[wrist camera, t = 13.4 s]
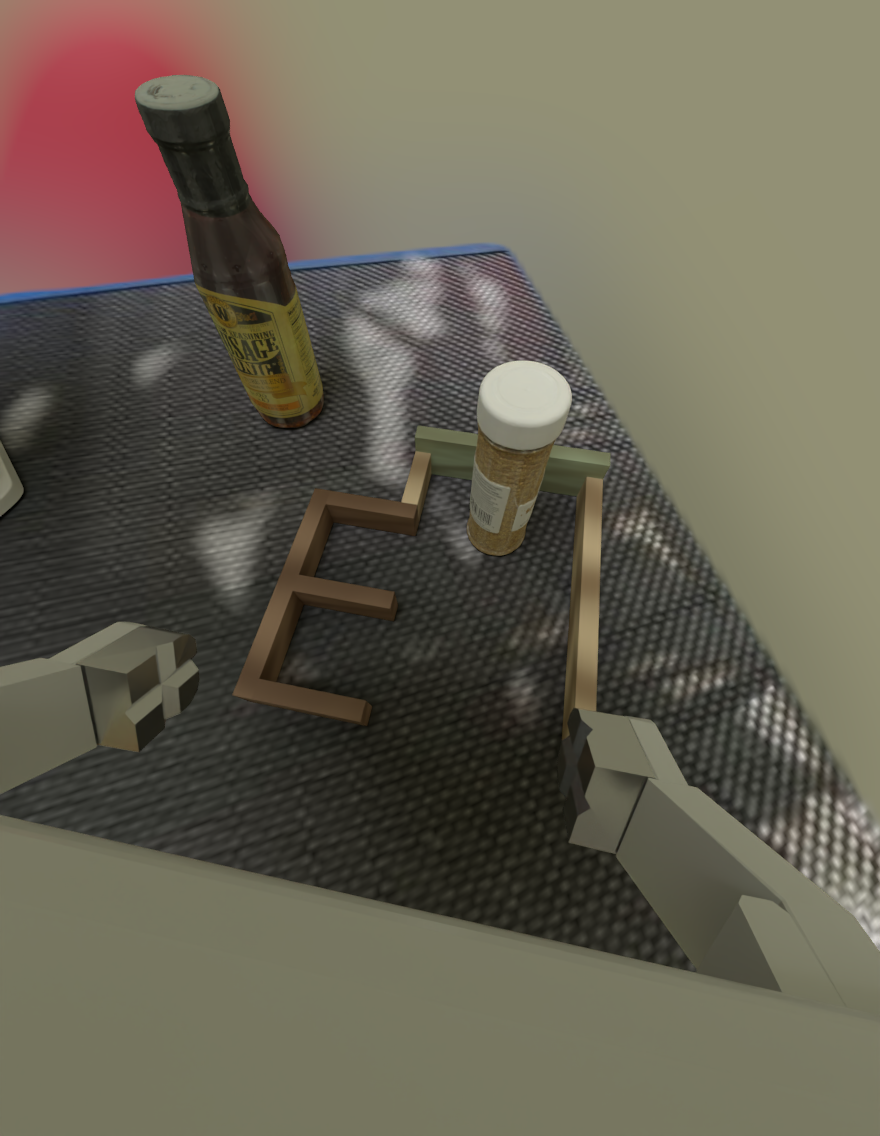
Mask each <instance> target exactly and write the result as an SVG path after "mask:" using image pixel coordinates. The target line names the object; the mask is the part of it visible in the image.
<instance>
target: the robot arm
mask: <svg viewBox="0 0 880 1136" xmlns="http://www.w3.org/2000/svg"><path fill="white" fill-rule="evenodd" d="M22 494H23V486H22V484H21V482H20V480H19V478H18V475H17V473H16V471H15V469H14V467H13V465H12V463H11V461H10V459H9V457H8V455H7V453H6V451H5V449H4V447H3V445H2V443H1V441H0V516H1V515H3V514H4V513H5V512H6V511H7V510H8V509H10V508H11V507H12V506H13V505H14V504H15V503H16V502H17V501H18V500H19V499H20V497H21V496H22ZM196 654H197V647H196V639H195V638H193V637H192V636H191V635H190V634H185V633H181V632H176V631H171V630H167V629H162V628H157V627H152V626H146V625H142V624H137V623H132V622H117V623H115V624H113V625H111V626H109V627H107V628H105V629H103V630H102V631H100V632H98V633H96V634H94V635H92V636H90V637H88V638H87V639H85V640H83V641H81V642H79V643H77V644H75V645H74V646H72V647H70V648H68V649H66V650H64V651H62V652H60V653H59V654H57V655H55V656H53V657H51V658H49V659H44V658H38V659H33V660H29V661H25V662H20V663H16V664H12V665H7V666H3V667H0V794H2V793H4V792H6V791H8V790H10V789H12V788H14V787H16V786H18V785H20V784H22V783H24V782H26V781H28V780H30V779H32V778H34V777H36V776H38V775H41V774H43V773H45V772H47V771H49V770H51V769H53V768H55V767H57V766H59V765H61V764H63V763H65V762H67V761H69V760H71V759H73V758H75V757H77V756H79V755H82V754H84V753H86V752H88V751H90V750H92V749H94V748H96V747H97V745H102V746H107V747H113V748H118V749H124V750H130V751H135V752H140V751H141V750H142V749H143V748H144V747H145V746H146V745H147V744H148V743H149V742H151V741H152V740H153V739H154V738H155V737H156V736H157V735H158V734H159V733H160V732H161V731H162V730H163V729H164V728H165V722H166V719H167V718H170V717H172V716H175V715H177V714H180V713H181V712H182V711H183V710H184V709H185V708H186V707H187V706H188V705H189V704H190V703H191V701H192V700H193V698H194V696H195V694H196V692H197V690H198V685H199V670H198V668H197V667H196V666H195V664H194V663H193V661H192V658H193V657H194V656H195V655H196ZM567 725H568V729H569V734H570V735H569V736H568V737H566V738H565V739H563V740H562V742H561V746H560V749H559V753H558V762H557V779H558V786H559V790H560V791H561V792H562V794H563V795H564V796H565V797H566V801H565V804H564V807H563V814H564V820H565V825H566V831H567V836H568V842H569V843H572V844H576V845H581V846H585V847H589V848H593V849H597V850H601V851H606V852H610V853H614V854H616V858H617V859H618V860H619V862H620V863H621V864H622V866H623V867H624V869H625V870H626V871H627V873H628V874H629V876H630V877H631V878H632V880H633V881H634V883H635V884H636V885H637V887H638V888H639V890H640V891H641V892H642V894H643V895H644V897H645V898H646V899H647V901H648V902H649V904H650V905H651V906H652V908H653V909H654V911H655V912H656V913H657V915H658V916H659V918H660V919H661V920H662V922H663V923H664V925H665V926H666V927H667V929H668V930H669V932H670V933H671V934H672V936H673V937H674V939H675V940H676V941H677V943H678V944H679V946H680V947H681V948H682V950H683V951H684V952H685V954H686V955H687V957H688V958H689V959H690V961H691V962H692V964H693V965H694V966H695V968H696V969H697V971H696V972H695V973H694V972H690V971H686V970H681V969H677V968H672V967H668V966H664V965H659V964H655V963H650V962H646V961H642V960H637V959H633V958H628V957H624V956H620V955H615V954H611V953H606V952H602V951H598V950H593V949H589V948H584V947H580V946H576V945H571V944H567V943H562V942H558V941H554V940H549V939H545V938H540V937H536V936H532V935H527V934H523V933H518V932H514V931H510V930H505V929H501V928H496V927H492V926H487V925H483V924H479V923H474V922H470V921H465V920H461V919H456V918H452V917H448V916H443V915H439V914H434V913H430V912H425V911H421V910H417V909H412V908H408V907H403V906H399V905H394V904H390V903H386V902H381V901H377V900H372V899H368V898H363V897H359V896H355V895H350V894H346V893H341V892H337V891H332V890H328V889H324V888H319V887H315V886H310V885H306V884H302V883H297V882H293V881H288V880H284V879H280V878H275V877H271V876H266V875H262V874H258V873H253V872H249V871H244V870H240V869H236V868H231V867H227V866H223V865H218V864H214V863H209V862H205V861H201V860H196V859H192V858H187V857H183V856H179V855H174V854H170V853H165V852H161V851H157V850H152V849H148V848H143V847H139V846H135V845H130V844H126V843H121V842H117V841H113V840H108V839H104V838H99V837H95V836H90V835H86V834H82V833H77V832H73V831H68V830H64V829H60V828H55V827H51V826H46V825H42V824H38V823H33V822H29V821H24V820H20V819H16V818H11V817H7V816H2V815H0V1136H880V952H879V950H878V949H877V947H876V946H875V945H874V943H873V942H872V940H871V939H870V938H869V936H868V935H867V934H866V932H865V931H864V929H863V928H862V927H861V925H860V924H859V922H858V921H857V920H856V918H855V917H854V916H853V915H852V914H851V913H849V912H848V911H847V910H846V909H844V908H843V907H842V906H841V905H840V904H838V903H837V902H836V901H835V900H833V899H832V898H831V897H830V896H829V895H827V894H826V893H825V892H824V891H822V890H821V889H820V888H819V887H818V886H816V885H815V884H814V883H813V882H812V881H810V880H809V879H808V878H807V877H805V876H804V875H803V874H802V873H801V872H799V871H798V870H797V869H796V868H794V867H793V866H792V865H791V864H790V863H788V862H787V861H786V860H785V859H783V858H782V857H781V856H780V855H779V854H777V853H776V852H775V851H774V850H772V849H771V848H770V847H769V846H768V845H766V844H765V843H764V842H763V841H762V840H760V839H759V838H758V837H757V836H755V835H754V834H753V833H752V832H751V831H749V830H748V829H747V828H746V827H744V826H743V825H742V824H741V823H740V822H738V821H737V820H736V819H735V818H733V817H732V816H731V815H730V814H729V813H727V812H726V811H725V810H724V809H722V808H721V807H720V806H719V805H718V804H716V803H715V802H714V801H713V800H712V799H710V798H709V797H708V796H707V795H705V794H704V793H703V792H702V791H701V790H699V789H698V788H697V787H692V786H688V784H687V782H686V780H685V779H684V777H683V775H682V773H681V771H680V769H679V767H678V766H677V764H676V762H675V760H674V758H673V756H672V754H671V753H670V751H669V749H668V747H667V745H666V743H665V741H664V740H663V738H662V736H661V734H660V732H659V730H658V728H657V727H656V725H655V723H653V722H652V721H651V720H648V719H642V718H636V717H629V716H619V715H613V714H608V713H602V712H597V711H591V710H585V709H580V708H573V710H572V711H571V713H570V716H569V719H568V722H567Z"/></svg>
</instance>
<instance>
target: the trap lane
mask: <svg viewBox="0 0 880 1136" xmlns="http://www.w3.org/2000/svg"><path fill="white" fill-rule="evenodd" d="M477 440H478V434H473V433H466V432H459V431H452V430H445V429H438V428H432V427H425V426H418V428H417V431H416V435H415V447H416V452H415V456H414V459H413V463H412V466H411V470H410V473H409V477H408V480H407V484H406V488H405V491H404V495H403V498H402V502H397V501H391V500H385V499H379V498H372V497H366V496H360V495H354V494H348V493H341V492H335V491H329V490H323V489H316V488H315V490H314V492H313V495H312V497H311V500H310V502H309V505H308V507H307V510H306V512H305V515H304V517H303V520H302V522H301V525H300V527H299V530H298V532H297V535H296V537H295V540H294V542H293V545H292V547H291V550H290V552H289V555H288V557H287V560H286V562H285V565H284V567H283V570H282V572H281V575H280V577H279V580H278V582H277V585H276V587H275V590H274V592H273V595H272V597H271V600H270V602H269V605H268V607H267V610H266V612H265V615H264V617H263V620H262V622H261V625H260V627H259V630H258V632H257V635H256V637H255V640H254V642H253V645H252V647H251V650H250V652H249V655H248V657H247V660H246V662H245V665H244V667H243V670H242V672H241V675H240V677H239V680H238V682H237V685H236V687H235V690H234V692H233V696H236V697H239V698H242V699H244V700H247V701H250V702H255V703H260V704H264V705H269V706H274V707H279V708H283V709H288V710H293V711H298V712H302V713H307V714H312V715H317V716H321V717H326V718H331V719H336V720H340V721H345V722H350V723H355V724H359V725H364V726H367V725H368V721H369V718H370V714H371V710H372V706H371V705H370V704H369V703H368V702H367V701H365V700H361V699H356V698H351V697H346V696H341V695H336V694H331V693H326V692H322V691H317V690H312V689H307V688H302V687H297V686H292V685H287V684H283V683H278V682H276V680H277V678H278V675H279V672H280V669H281V667H282V664H283V661H284V658H285V655H286V653H287V650H288V647H289V644H290V642H291V639H292V636H293V633H294V631H295V628H296V625H297V622H298V619H299V617H300V614H301V611H302V608H303V606H304V605H309V606H315V607H320V608H325V609H331V610H336V611H342V612H347V613H352V614H358V615H363V616H368V617H374V618H379V619H384V620H390V621H394V619H395V615H396V612H397V608H398V603H397V600H396V596H395V592H392V591H387V590H381V589H376V588H370V587H365V586H359V585H354V584H348V583H343V582H337V581H332V580H326V579H320V578H315V577H314V575H315V572H316V570H317V567H318V564H319V561H320V558H321V556H322V553H323V550H324V547H325V545H326V542H327V539H328V536H329V534H330V531H331V528H332V525H333V522H334V523H340V524H346V525H352V526H358V527H364V528H370V529H376V530H382V531H388V532H394V533H400V534H406V535H412V536H416V533H417V529H418V525H419V521H420V517H421V513H422V509H423V506H424V502H425V498H426V494H427V490H428V486H429V482H430V478H431V474H435V475H441V476H448V477H454V478H461V479H467V480H472V476H473V466H474V456H475V451H476V447H477ZM609 467H610V453H605V452H598V451H591V450H584V449H577V448H570V447H563V446H556V445H553V447H552V450H551V453H550V456H549V459H548V462H547V465H546V468H545V473H544V477H543V480H542V483H541V486H540V489H539V491H545V492H552V493H558V494H565V495H571V496H577V503H576V519H575V535H574V552H573V568H572V584H571V601H570V617H569V633H568V650H567V666H566V682H565V698H564V715H563V731H562V740H563V739H565V738H566V737H568V736H569V735H570V734H569V729H568V725H567V722H568V719H569V716H570V713H571V711H572V710H573V708H580V709H585V710H591V711H596V696H597V661H598V627H599V592H600V557H601V523H602V488H603V478H604V476H605V474H606V472H607V471H608V469H609Z"/></svg>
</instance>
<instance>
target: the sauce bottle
mask: <svg viewBox="0 0 880 1136" xmlns="http://www.w3.org/2000/svg"><path fill="white" fill-rule="evenodd" d="M135 100H136V104H137V107H138V110H139V112H140V114H141V116H142V119H143V121H144V124H145V127H146V130H147V132H148V133H149V134H150V136H151V137H152V138H153V140H154V141H155V142H156V143H157V144H158V146H159V150H160V152H161V154H162V157H163V159H164V162H165V164H166V166H167V168H168V171H169V173H170V176H171V178H172V179H173V182H174V185H175V187H176V189H177V192H178V197H179V199H180V201H181V206H182V213H183V218H184V224H185V229H186V235H187V241H188V246H189V252H190V258H191V264H192V270H193V275H194V281H195V284H196V286H197V288H198V290H199V293H200V295H201V297H202V299H203V301H204V303H205V305H206V308H207V309H208V311H209V313H210V316H211V318H212V320H213V322H214V324H215V326H216V329H217V331H218V333H219V335H220V337H221V339H222V341H223V343H224V345H225V347H226V350H227V351H228V353H229V356H230V358H231V360H232V362H233V364H234V366H235V368H236V370H237V372H238V375H239V377H240V379H241V381H242V383H243V385H244V387H245V389H246V391H247V394H248V396H249V398H250V400H251V402H252V404H253V405H254V406H255V408H256V409H257V411H258V412H259V414H260V415H261V417H263V419H264V420H265V421H266V422H268V423H269V424H272V425H273V426H275V427H281V428H291V427H294V428H297V427H302V426H304V425H306V424H307V423H309V422H310V421H312V420H313V419H314V418H316V417H317V416H318V415H319V413H320V412H321V410H322V407H323V402H324V401H323V400H324V399H323V397H324V395H323V387H322V382H321V379H320V375H319V371H318V367H317V364H316V360H315V356H314V353H313V349H312V346H311V342H310V338H309V334H308V330H307V327H306V323H305V319H304V315H303V311H302V308H301V304H300V301H299V297H298V293H297V289H296V286H295V283H294V281H293V279H292V277H291V272H290V269H289V267H288V262H287V258H286V254H285V250H284V247H283V244H282V242H281V239H280V235H279V234H278V233H277V231H276V230H275V228H274V227H273V226H272V225H271V224H270V222H269V221H268V220H267V219H266V218H265V217H264V216H263V214H262V213H261V212H260V211H259V209H258V208H257V206H256V205H255V203H254V202H253V201H252V198H251V196H250V195H249V192H248V185H247V183H246V182H245V180H244V179H243V175H242V172H241V168H240V165H239V162H238V159H237V156H236V152H235V149H234V146H233V143H232V140H231V137H230V119H229V116H228V113H227V110H226V107H225V104H224V101H223V98H222V95H221V92H220V89H219V87H218V86H217V85H216V84H215V83H214V82H212V81H210V80H208V79H205V78H202V77H197V76H190V75H172V76H168V77H160V78H156V79H152V80H150V81H147V82H146V83H143V84H142V85H141V86H139V87H138V89H137V90H136V91H135Z"/></svg>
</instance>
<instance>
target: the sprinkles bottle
mask: <svg viewBox="0 0 880 1136" xmlns="http://www.w3.org/2000/svg"><path fill="white" fill-rule="evenodd" d="M571 401H572V394H571V389H570V386H569V385H568V383H567V381H566V380H565V378H564V377H563V376H562V375H561V374H560V373H558V372H557V371H556V370H554V369H553V368H551V367H549V366H546V365H544V364H541V363H538V362H533V361H513V362H508V363H505V364H502V365H500V366H498V367H496V368H494V369H493V370H491V371H490V372H489V373H488V374H487V375H486V377H485V378H484V379H483V381H482V383H481V386H480V391H479V398H478V406H477V421H478V427H479V429H478V440H477V447H476V451H475V456H474V466H473V476H472V486H471V497H470V518H469V519H468V523H467V535H468V537H469V540H470V541H471V543H472V544H473V545H474V546H475V547H476V548H477V549H478V550H480V551H481V552H483V553H486V554H489V555H495V556H502V555H506V554H509V553H511V552H512V551H514V550H515V549H517V548H518V547H519V546H520V545H521V543H522V541H523V540H524V537H525V532H526V531H525V529H526V526H527V523H528V520H529V518H530V516H531V513H532V510H533V507H534V504H535V501H536V498H537V495H538V491H539V489H540V486H541V483H542V480H543V477H544V473H545V468H546V465H547V462H548V459H549V456H550V453H551V450H552V447H553V444H554V442H555V440H556V438H557V437H558V436H559V435H560V433H561V432H562V429H563V427H564V424H565V422H566V419H567V416H568V413H569V409H570V406H571Z"/></svg>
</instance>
